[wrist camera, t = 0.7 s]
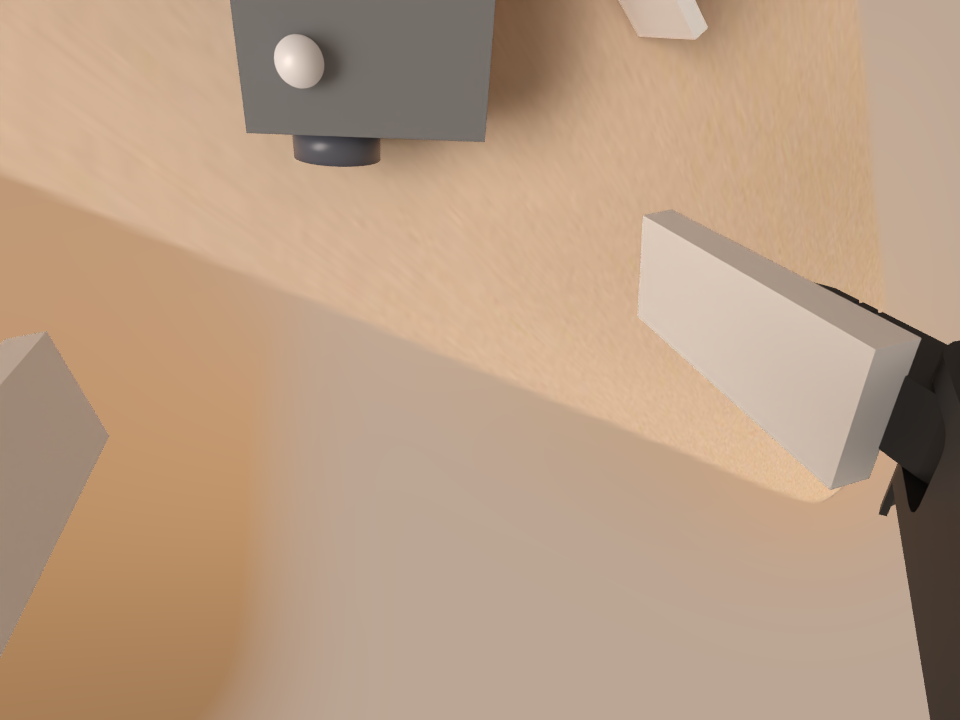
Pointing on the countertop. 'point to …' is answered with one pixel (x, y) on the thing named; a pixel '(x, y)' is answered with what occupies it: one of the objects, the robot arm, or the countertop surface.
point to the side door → (665, 18)
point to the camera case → (363, 72)
